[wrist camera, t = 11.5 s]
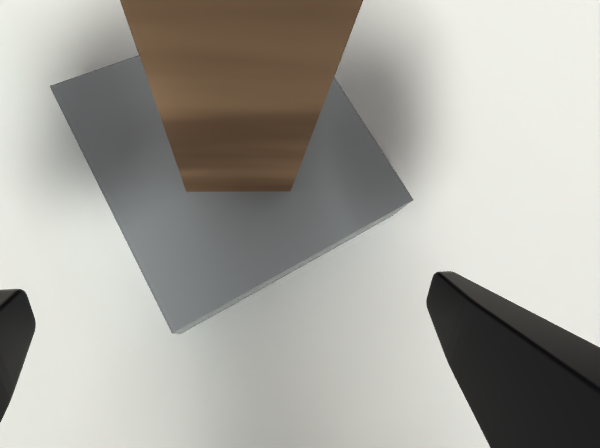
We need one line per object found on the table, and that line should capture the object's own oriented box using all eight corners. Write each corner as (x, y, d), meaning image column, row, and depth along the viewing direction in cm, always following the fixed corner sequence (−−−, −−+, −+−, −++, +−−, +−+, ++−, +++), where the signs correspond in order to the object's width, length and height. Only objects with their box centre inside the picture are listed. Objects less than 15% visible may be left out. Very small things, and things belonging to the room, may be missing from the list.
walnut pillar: (290, 191, 17) (423, -157, 5) (186, 191, 17) (46, -215, 4) (285, 102, 19) (381, -354, 6) (187, 99, 18) (81, -426, 6)
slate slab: (180, 333, 17) (172, 333, 15) (72, 116, 19) (49, 86, 17) (392, 215, 21) (413, 199, 18) (281, 39, 23) (287, 4, 20)
